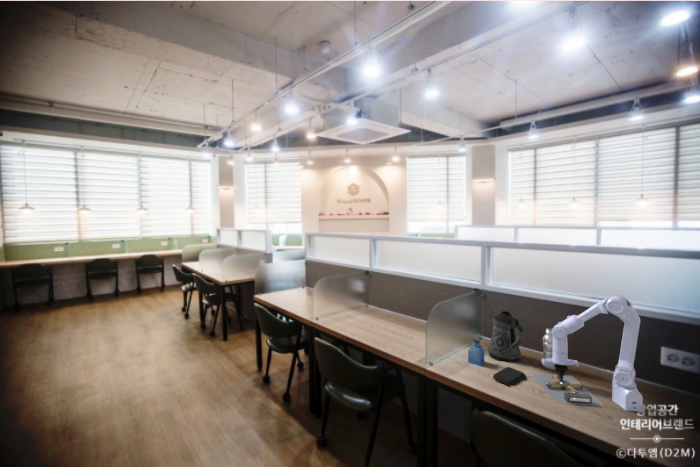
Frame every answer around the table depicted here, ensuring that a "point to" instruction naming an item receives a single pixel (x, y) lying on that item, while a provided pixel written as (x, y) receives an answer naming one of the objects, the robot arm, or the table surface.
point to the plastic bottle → (548, 348)
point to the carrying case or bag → (509, 376)
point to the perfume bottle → (476, 353)
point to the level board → (559, 393)
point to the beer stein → (506, 338)
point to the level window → (578, 398)
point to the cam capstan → (564, 384)
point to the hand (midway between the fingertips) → (559, 379)
